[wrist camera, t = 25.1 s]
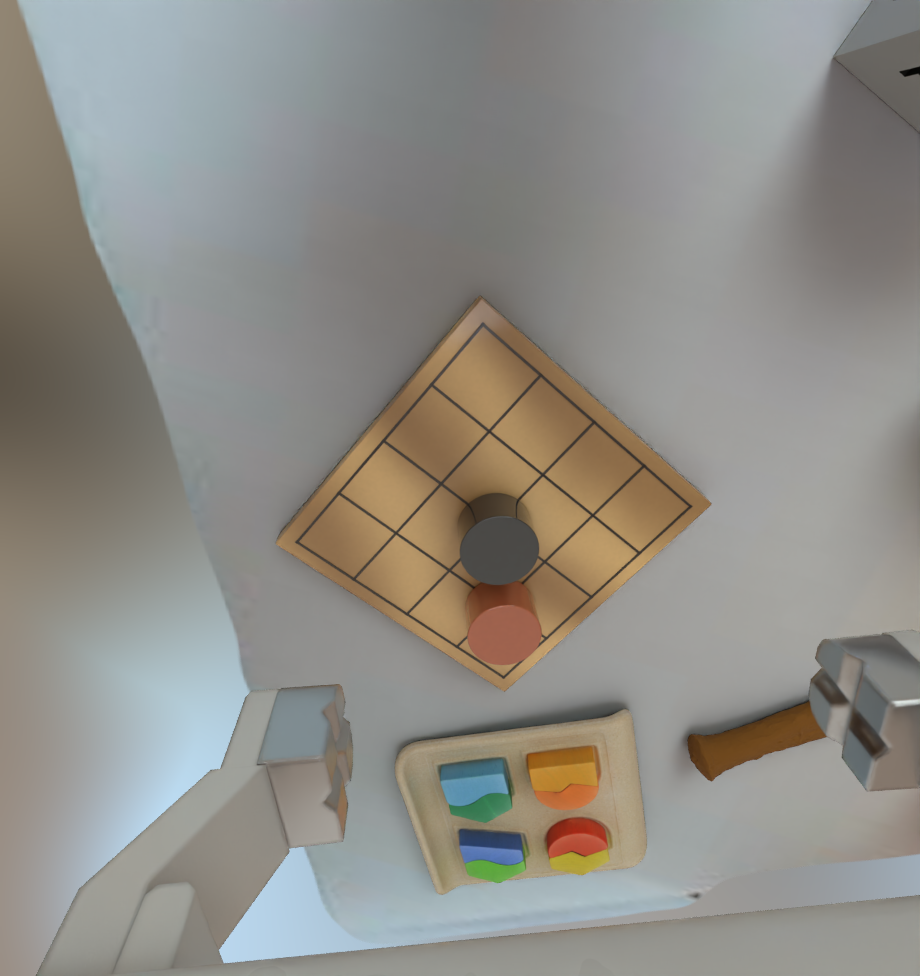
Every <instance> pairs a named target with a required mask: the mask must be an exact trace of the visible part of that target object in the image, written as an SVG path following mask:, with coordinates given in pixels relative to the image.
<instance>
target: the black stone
mask: <svg viewBox="0 0 920 976" xmlns="http://www.w3.org/2000/svg"><path fill="white" fill-rule="evenodd" d="M457 533H458V543H459V553H460V560H461V563H462V565H463V567H464V569H465V570H466V571H467V573H468V574H469V575H471V576H472V577H473V578H474V579H476V580H478V581H480V582H482V583H486V584H490V585H504V584H509V583H512V582H515V581H517V580H519V579H521V578H522V577H524V576H525V575H526V574H528V573H529V572H530V571H531V569H532V568H533V567H534V565H535V563H536V561H537V559H538V555H539V542H538V538H537V535H536V532H535V529H534V526H533V523H532V519H531V516H530V514H529V511H528V510H527V508H526V507H525V505H524V504H523V503H522V502H521V501H519V500H518V499H517V498H515V497H513V496H510V495H507V494H503V493H489V494H485V495H482V496H479V497H477V498H475V499H474V500H472V501H471V502H469V503H468V504H467V505H466V506H465V508H464V509H463V510H462V512H461V514H460V516H459V519H458V523H457Z"/></svg>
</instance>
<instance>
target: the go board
mask: <svg viewBox="0 0 920 976" xmlns="http://www.w3.org/2000/svg"><path fill="white" fill-rule="evenodd" d="M489 493H503V494H507V495H510V496H513V497H515V498H517V499H518V500H519V501H521V502H522V503H523V504H524V505H525V507H526V508H527V510H528V511H529V514H530V516H531V519H532V523H533V526H534V529H535V532H536V535H537V538H538V542H539V555H538V559H537V561H536V563H535V565H534V567H533V568H532V569H531V571H530V572H529V573H528V574H526V575H525V576H524V577H522V578H521V579H519V580H517V581H518V582H520V583H522V584H523V585H524V586H526V587H527V588H528V589H529V591H530V592H531V594H532V596H533V599H534V602H535V606H536V610H537V614H538V617H539V621H540V625H541V629H542V636H541V640H540V643H539V645H538V647H537V649H536V650H535V651H534V652H533V653H532V654H531V655H530V656H529V657H527V658H526V659H524V660H522V661H520V662H518V663H515V664H510V665H494V664H490V663H487V662H485V661H483V660H481V659H479V658H478V657H477V656H476V655H475V654H474V653H473V652H472V650H471V649H470V647H469V644H468V639H467V629H466V619H465V603H466V599H467V597H468V595H469V594H470V592H471V591H472V590H473V589H474V588H475V587H476V586H478V585H479V584H481V583H482V582H480V581H478V580H476V579H474V578H473V577H472V576H471V575H469V574H468V573H467V571H466V570H465V569H464V567H463V565H462V563H461V560H460V553H459V543H458V533H457V523H458V519H459V516H460V514H461V512H462V510H463V509H464V508H465V506H466V505H467V504H468V503H469V502H471V501H472V500H474V499H475V498H477V497H479V496H482V495H485V494H489ZM710 505H711V503H710V502H709V500H708V499H707V498H706V497H705V496H704V495H703V494H702V493H701V492H699V491H698V490H697V489H696V488H695V487H694V486H693V485H692V484H690V483H689V482H688V481H687V480H686V479H685V478H684V477H683V476H682V475H680V474H679V473H678V472H677V471H676V470H675V469H674V468H673V467H671V466H670V465H669V464H668V463H667V462H666V461H665V460H664V459H662V458H661V457H660V456H659V455H658V454H657V453H656V452H655V451H654V450H652V449H651V448H650V447H649V446H648V445H647V444H646V443H645V442H643V441H642V440H641V439H640V438H639V437H638V436H637V435H636V434H634V433H633V432H632V431H631V430H630V429H629V428H628V427H627V426H626V425H624V424H623V423H622V422H621V421H620V420H619V419H618V418H617V417H615V416H614V415H613V414H612V413H611V412H610V411H609V410H608V409H607V408H605V407H604V406H603V405H602V404H601V403H600V402H599V401H598V400H596V399H595V398H594V397H593V396H592V395H591V394H590V393H589V392H587V391H586V390H585V389H584V388H583V387H582V386H581V385H580V384H579V383H577V382H576V381H575V380H574V379H573V378H572V377H571V376H570V375H568V374H567V373H566V372H565V371H564V370H563V369H562V368H561V367H560V366H558V365H557V364H556V363H555V362H554V361H553V360H552V359H551V358H549V357H548V356H547V355H546V354H545V353H544V352H543V351H542V350H540V349H539V348H538V347H537V346H536V345H535V344H534V343H533V342H532V341H530V340H529V339H528V338H527V337H526V336H525V335H524V334H523V333H521V332H520V331H519V330H518V329H517V328H516V327H515V326H514V325H512V324H511V323H510V322H509V321H508V320H507V319H506V318H505V317H504V316H502V315H501V314H500V313H499V312H498V311H497V310H496V309H495V308H493V307H492V306H491V305H490V304H489V303H488V302H487V301H486V300H485V299H483V298H482V297H481V296H479V297H478V298H477V299H476V300H475V302H474V303H473V304H472V305H471V306H470V307H469V309H468V310H467V311H466V312H465V313H464V315H463V316H462V317H461V318H460V319H459V321H458V322H457V323H456V324H455V325H454V327H453V328H452V329H451V330H450V331H449V333H448V334H447V335H446V336H445V337H444V338H443V340H442V341H441V342H440V343H439V344H438V346H437V347H436V348H435V349H434V350H433V352H432V353H431V354H430V355H429V356H428V358H427V359H426V360H425V361H424V362H423V364H422V365H421V366H420V367H419V368H418V370H417V371H416V372H415V373H414V374H413V375H412V377H411V378H410V379H409V380H408V381H407V383H406V384H405V385H404V386H403V387H402V389H401V390H400V391H399V392H398V393H397V395H396V396H395V397H394V398H393V399H392V401H391V402H390V403H389V404H388V405H387V407H386V408H385V409H384V410H383V411H382V412H381V414H380V415H379V416H378V417H377V418H376V420H375V421H374V422H373V423H372V424H371V426H370V427H369V428H368V429H367V430H366V432H365V433H364V434H363V435H362V436H361V438H360V439H359V440H358V441H357V442H356V443H355V445H354V446H353V447H352V448H351V449H350V451H349V452H348V453H347V454H346V455H345V457H344V458H343V459H342V460H341V461H340V463H339V464H338V465H337V466H336V467H335V469H334V470H333V471H332V472H331V473H330V475H329V476H328V477H327V478H326V479H325V480H324V482H323V483H322V484H321V485H320V486H319V488H318V489H317V490H316V491H315V492H314V494H313V495H312V496H311V497H310V498H309V500H308V501H307V502H306V503H305V504H304V506H303V507H302V508H301V509H300V510H299V511H298V513H297V514H296V515H295V516H294V517H293V519H292V520H291V521H290V522H289V523H288V525H287V526H286V527H285V528H284V529H283V531H282V532H281V533H280V534H279V536H278V539H277V541H276V545H278V546H280V547H281V548H283V549H284V550H286V551H287V552H289V553H290V554H292V555H294V556H295V557H297V558H298V559H300V560H301V561H303V562H304V563H306V564H307V565H309V566H311V567H312V568H314V569H315V570H317V571H318V572H320V573H321V574H323V575H324V576H326V577H328V578H329V579H331V580H332V581H334V582H335V583H337V584H338V585H340V586H342V587H343V588H345V589H346V590H348V591H349V592H351V593H352V594H354V595H355V596H357V597H359V598H360V599H362V600H363V601H365V602H366V603H368V604H369V605H371V606H373V607H374V608H376V609H377V610H379V611H380V612H382V613H383V614H385V615H386V616H388V617H390V618H391V619H393V620H394V621H396V622H397V623H399V624H400V625H402V626H403V627H405V628H407V629H408V630H410V631H411V632H413V633H414V634H416V635H417V636H419V637H421V638H422V639H424V640H425V641H427V642H428V643H430V644H431V645H433V646H434V647H436V648H438V649H439V650H441V651H442V652H444V653H445V654H447V655H448V656H450V657H451V658H453V659H455V660H456V661H458V662H459V663H461V664H462V665H464V666H465V667H467V668H469V669H470V670H472V671H473V672H475V673H476V674H478V675H479V676H481V677H482V678H484V679H486V680H487V681H489V682H490V683H492V684H493V685H495V686H496V687H498V688H500V689H501V690H503V691H504V692H505V691H506V690H507V689H508V688H509V687H510V686H511V685H512V684H514V683H515V682H516V681H517V680H518V679H519V678H520V677H521V676H522V675H524V674H525V673H526V672H527V671H528V670H529V669H530V668H531V667H532V666H534V665H535V664H536V663H537V662H538V661H539V660H540V659H541V658H542V657H543V656H545V655H546V654H547V653H548V652H549V651H550V650H551V649H552V648H553V647H555V646H556V645H557V644H558V643H559V642H560V641H561V640H562V639H563V638H564V637H566V636H567V635H568V634H569V633H570V632H571V631H572V630H573V629H574V628H576V627H577V626H578V625H579V624H580V623H581V622H582V621H583V620H584V619H585V618H587V617H588V616H589V615H590V614H591V613H592V612H593V611H594V610H595V609H597V608H598V607H599V606H600V605H601V604H602V603H603V602H604V601H605V600H606V599H608V598H609V597H610V596H611V595H612V594H613V593H614V592H615V591H616V590H618V589H619V588H620V587H621V586H622V585H623V584H624V583H625V582H626V581H627V580H629V579H630V578H631V577H632V576H633V575H634V574H635V573H636V572H637V571H639V570H640V569H641V568H642V567H643V566H644V565H645V564H646V563H647V562H648V561H650V560H651V559H652V558H653V557H654V556H655V555H656V554H657V553H658V552H660V551H661V550H662V549H663V548H664V547H665V546H666V545H667V544H668V543H670V542H671V541H672V540H673V539H674V538H675V537H676V536H677V535H678V534H679V533H681V532H682V531H683V530H684V529H685V528H686V527H687V526H688V525H689V524H691V523H692V522H693V521H694V520H695V519H696V518H697V517H698V516H699V515H700V514H702V513H703V512H704V511H705V510H706V509H707V508H708V507H709V506H710Z"/></svg>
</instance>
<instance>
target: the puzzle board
mask: <svg viewBox="0 0 920 976" xmlns="http://www.w3.org/2000/svg"><path fill="white" fill-rule="evenodd" d="M395 775H396V779H397V782H398V785H399V788H400V791H401V794H402V796H403V799H404V802H405V805H406V808H407V811H408V813H409V816H410V819H411V822H412V825H413V828H414V830H415V833H416V836H417V839H418V842H419V845H420V848H421V850H422V853H423V856H424V859H425V862H426V865H427V867H428V870H429V873H430V876H431V879H432V882H433V884H434V887H435V890H436V892H437V893H438V894H440V895H443V894H446V893H448V892H449V891H451V890H452V889H454V888H456V887H458V886H460V885H467V884H476V883H486V882H495V883H501V882H503V881H506V880H516V879H526V878H536V877H546V876H556V875H566V874H578V875H584V874H586V873H588V872H595V871H605V870H615V869H624V868H630V867H634V866H635V865H637V864H638V863H639V862H641V860H642V859H643V858H644V856H645V852H646V848H647V836H646V828H645V819H644V811H643V802H642V793H641V784H640V776H639V767H638V759H637V751H636V743H635V735H634V726H633V719H632V715H631V713H630V711H629V710H627V709H623V710H620V711H619V712H617V713H615V714H613V715H611V716H608V717H604V718H597V719H588V720H580V721H573V722H566V723H558V724H550V725H541V726H533V727H525V728H517V729H510V730H502V731H494V732H486V733H478V734H470V735H463V736H455V737H447V738H439V739H431V740H423V741H417V742H413V743H411V744H409V745H407V746H405V747H404V748H403V749H402V750H401V751H400V753H399V754H398V756H397V758H396V761H395Z"/></svg>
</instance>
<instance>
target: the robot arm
mask: <svg viewBox="0 0 920 976" xmlns="http://www.w3.org/2000/svg"><path fill="white" fill-rule="evenodd" d="M815 659H816V660H817V662H818V663H819V664H820V666H821V667H822V668H821V669H820V670H819V671H818V672H817V673H816V674H815V676H814V677H813V678H812V679H811V682H810V688H809V700H810V706H811V711H812V713H813V716H814V718H815V720H816V722H817V724H818V725H819V727H820V728H821V730H822V731H823V733H824V734H825V735H826V736H827V737H829V738H831V739H832V740H834V741H836V742H837V743H839V744H841V745H843V750H842V759H843V760H844V761H845V763H846V764H847V765H848V767H849V768H850V769H851V771H852V772H853V773H854V775H855V776H856V777H857V779H858V780H859V782H860V783H861V784H862V786H863V787H864V788H865V790H866V791H882V790H897V789H912V788H920V632H917V631H915V630H906V631H897V632H888V633H882V634H873V635H863V636H853V637H843V638H833V639H823V640H822V642H821V643H820V644H819V646H818V648H817V653H816V657H815ZM344 709H345V698H344V693H343V689H342V686H341V685H340V684H334V685H320V686H305V687H290V688H281V689H270V690H255V691H251V692H250V693H249V694H248V695H247V696H246V698H245V701H244V703H243V706H242V709H241V712H240V715H239V717H238V720H237V723H236V726H235V729H234V731H233V734H232V737H231V740H230V743H229V746H228V749H227V751H226V754H225V757H224V760H223V762H222V765H221V768H220V769H215V770H210V771H209V772H208V773H207V774H206V775H205V776H204V777H203V778H202V779H200V780H199V781H198V782H197V783H196V784H195V785H194V786H193V787H192V788H190V789H189V790H188V791H187V792H186V793H185V794H184V795H183V796H182V797H180V798H179V799H178V800H177V801H176V802H175V803H174V804H173V805H172V806H170V807H169V808H168V809H167V810H166V811H165V812H164V813H163V814H162V815H161V816H159V817H158V818H157V819H156V820H155V821H154V822H153V823H152V824H150V825H149V826H148V827H147V828H146V829H145V830H144V831H143V832H142V833H140V835H138V836H137V837H136V838H135V839H134V840H133V841H132V842H131V843H130V844H128V845H127V846H126V847H125V848H124V849H123V850H122V851H121V852H120V853H118V854H117V855H116V856H115V857H114V858H113V859H112V860H111V861H110V862H108V863H107V864H106V865H105V866H104V867H103V868H102V869H101V870H100V871H98V872H97V873H96V874H95V875H94V876H93V877H92V878H91V879H89V880H88V881H87V882H86V883H85V884H84V885H83V886H82V887H81V888H79V890H78V892H77V894H76V896H75V898H74V900H73V902H72V904H71V906H70V908H69V910H68V912H67V914H66V916H65V918H64V920H63V922H62V924H61V926H60V928H59V930H58V932H57V934H56V936H55V938H54V940H53V942H52V944H51V946H50V948H49V950H48V952H47V954H46V956H45V958H44V960H43V962H42V964H41V966H40V968H39V970H38V972H37V974H36V976H920V895H916V896H907V897H896V898H886V899H876V900H866V901H856V902H846V903H836V904H826V905H816V906H806V907H796V908H786V909H776V910H765V911H756V912H745V913H735V914H725V915H714V916H704V917H693V918H684V919H673V920H663V921H653V922H643V923H633V924H622V925H612V926H602V927H591V928H581V929H570V930H560V931H550V932H540V933H530V934H520V935H509V936H499V937H489V938H479V939H469V940H458V941H449V942H438V943H428V944H418V945H408V946H397V947H387V948H377V949H367V950H357V951H347V952H337V953H326V954H316V955H306V956H297V957H286V958H276V959H265V960H256V961H245V962H235V963H223V960H222V958H221V955H220V953H219V949H220V948H221V946H222V945H223V944H224V942H225V941H226V939H227V938H228V937H229V935H230V934H231V932H232V931H233V930H234V928H235V927H236V925H237V924H238V923H239V921H240V920H241V919H242V917H243V916H244V914H245V913H246V912H247V910H248V909H249V907H250V906H251V905H252V903H253V902H254V901H255V899H256V898H257V896H258V895H259V894H260V892H261V891H262V889H263V888H264V887H265V885H266V884H267V882H268V881H269V880H270V878H271V877H272V876H273V874H274V873H275V871H276V870H277V869H278V867H279V866H280V864H281V863H282V861H283V860H284V859H285V857H286V856H287V855H288V853H289V848H296V847H304V846H312V845H320V844H328V843H336V842H343V840H344V832H345V824H346V817H347V809H348V801H347V796H346V791H345V787H346V786H347V785H348V784H349V782H350V781H351V776H352V767H353V744H352V733H351V728H350V722H349V721H347V720H346V719H345V718H344V717H343V716H344Z"/></svg>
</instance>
